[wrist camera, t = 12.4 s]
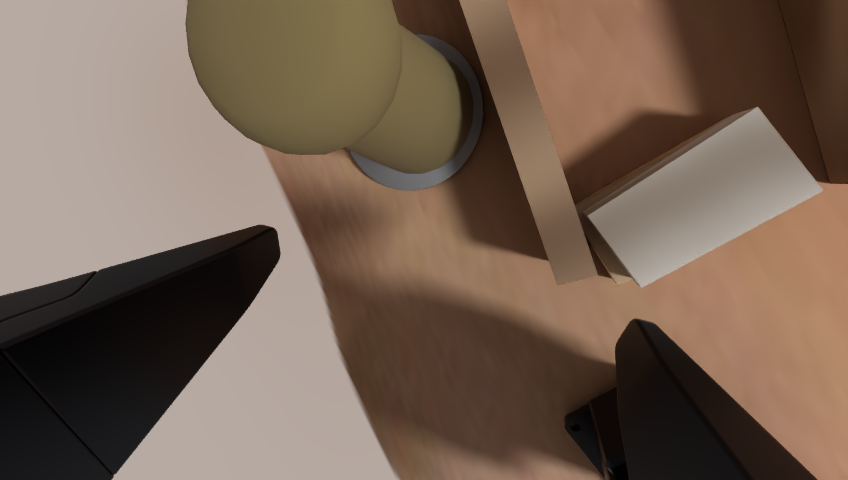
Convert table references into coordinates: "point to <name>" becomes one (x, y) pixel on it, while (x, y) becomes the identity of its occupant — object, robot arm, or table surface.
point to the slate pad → (438, 176)
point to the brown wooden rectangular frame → (534, 148)
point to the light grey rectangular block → (694, 198)
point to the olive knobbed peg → (330, 80)
